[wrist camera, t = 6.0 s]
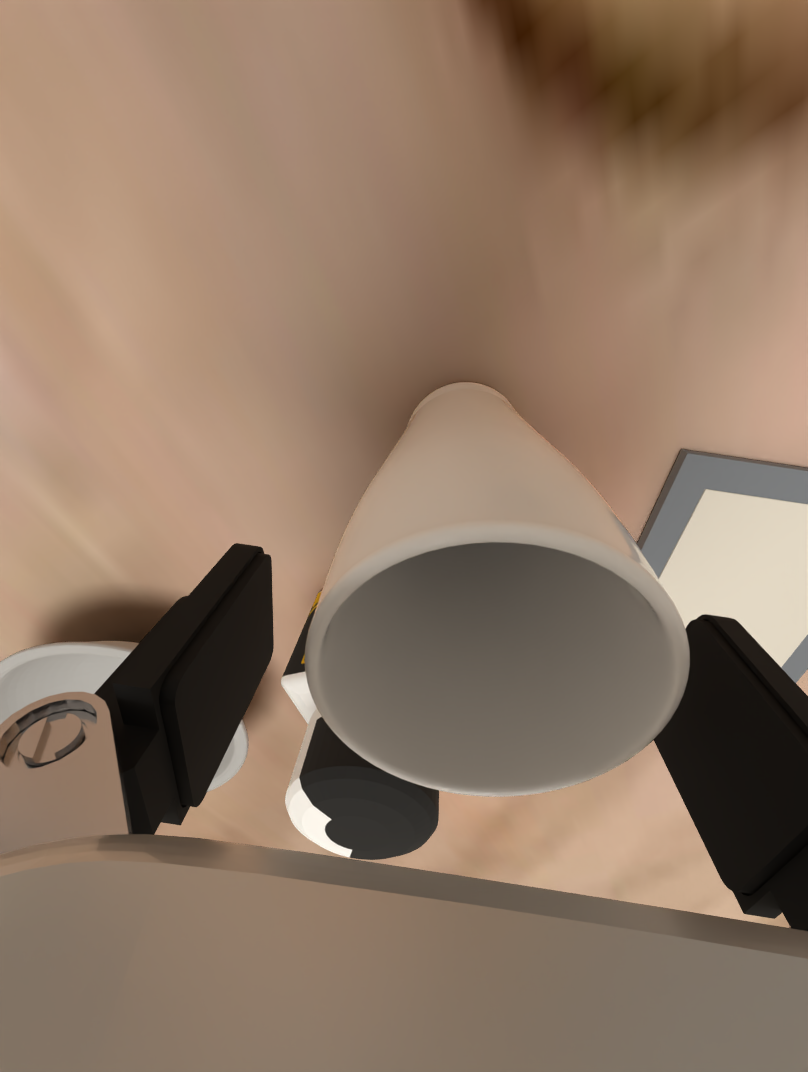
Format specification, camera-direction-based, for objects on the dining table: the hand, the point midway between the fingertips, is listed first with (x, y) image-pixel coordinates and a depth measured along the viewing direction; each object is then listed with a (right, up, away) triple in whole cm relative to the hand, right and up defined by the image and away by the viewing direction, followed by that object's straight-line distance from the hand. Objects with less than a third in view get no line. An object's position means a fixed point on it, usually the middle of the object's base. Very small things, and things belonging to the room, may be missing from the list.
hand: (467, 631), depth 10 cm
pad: (+16, -1, +14) cm, 21 cm away
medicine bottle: (-2, -3, +17) cm, 17 cm away
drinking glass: (+1, +7, +11) cm, 13 cm away
